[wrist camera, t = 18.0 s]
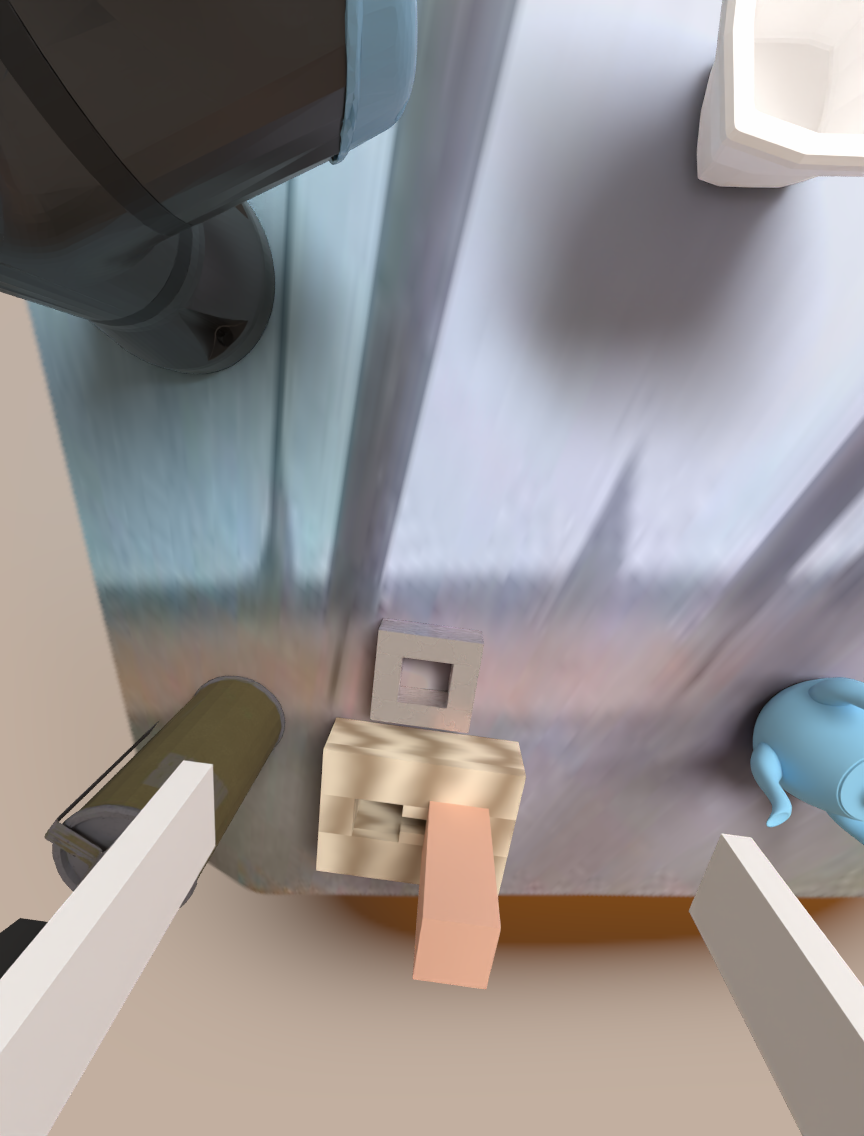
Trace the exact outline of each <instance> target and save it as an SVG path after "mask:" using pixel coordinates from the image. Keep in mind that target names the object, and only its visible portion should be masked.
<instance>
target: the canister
mask: <svg viewBox="0 0 864 1136" xmlns="http://www.w3.org/2000/svg"><path fill="white" fill-rule="evenodd" d="M158 722H159V721H158ZM158 722H157V723H158ZM157 723H156V724H157ZM156 724H155V725H156ZM155 725H154V726H153V727H152V728H151V729H149V730H148V731H147V732H146V733H145V734H144V735H143V736H142V737H141V738H140V739H139V740H138V741H137V742H136V743H135V744H134V745H133V746H132V747H131V748H130V749H129V750H128V751H127V752H126V753H125V754H123V755H122V756H121V757H120V758H119V759H118V760H117V761H116V762H115V763H114V764H113V765H112V766H111V767H110V768H109V769H108V770H107V771H106V772H105V773H104V774H103V775H102V776H100V777H99V779H97V781H95V782H94V783H93V784H92V785H91V786H90V787H89V788H88V789H87V790H86V791H85V792H84V793H83V794H82V795H81V796H80V797H79V798H78V799H76V800H75V801H74V802H73V803H72V804H71V805H70V806H69V807H68V808H67V809H66V810H65V811H64V812H63V813H62V814H61V815H60V816H59V817H58V818H57V819H56V821H55V822H54V823H53V825H52V826H51V827H50V829H49V830H48V831H47V833H46V834H45V839H47V840H48V841H50V842H52V843H53V845H52V854H53V859H54V862H55V865H56V868H57V870H58V873H59V875H60V876H61V878H62V880H63V881H64V882H65V883H66V885H67V886H68V887H69V888H70V889H71V890H72V891H73V892H74V891H75V889H76V888H77V887H78V886H79V885H80V883H81V882H82V881H83V880H84V879H85V877H86V876H87V875H88V874H89V873H90V871H91V870H92V869H93V868H94V867H95V865H96V864H97V863H98V862H99V861H100V859H101V858H102V857H103V856H104V855H105V853H106V852H107V851H108V850H109V849H110V847H111V846H112V845H113V844H114V843H115V842H116V840H117V839H118V838H119V837H120V836H121V834H122V833H123V832H124V831H125V830H126V828H127V827H128V826H129V825H130V824H131V822H132V821H133V820H134V819H135V818H136V816H137V815H138V814H139V813H140V812H141V810H142V809H143V808H144V807H145V806H146V804H147V803H148V802H149V801H150V800H151V798H152V797H153V796H154V795H155V794H156V793H157V791H158V790H159V789H160V788H161V787H162V785H163V784H164V783H165V782H166V781H167V779H168V778H169V777H170V776H171V775H172V773H173V772H174V771H175V770H176V769H177V767H178V766H179V765H180V764H181V763H182V761H183V760H184V761H192V762H199V763H206V764H213V785H214V817H215V847H214V849H213V851H212V853H211V854H210V856H209V858H208V859H207V861H206V863H205V865H204V866H203V868H202V870H201V871H200V873H199V875H198V877H197V878H196V880H195V882H194V883H193V885H192V887H191V889H190V890H189V892H188V894H187V895H186V897H185V899H184V901H183V902H182V904H181V906H180V908H181V907H182V906H183V905H184V904H185V903H186V902H187V900H188V899H189V898H190V897H191V895H192V894H193V891H194V889H195V887H196V885H197V880H198V878H199V876H200V874H201V873H202V871H203V869H204V867H205V866H206V864H207V862H208V860H209V859H210V857H211V855H212V854H213V852H214V850H215V848H216V847H217V845H218V843H219V841H220V840H221V838H222V836H223V834H224V833H225V831H226V829H227V828H228V826H229V824H230V822H231V821H232V819H233V817H234V815H235V814H236V812H237V810H238V808H239V807H240V805H241V803H242V802H243V800H244V798H245V796H246V795H247V793H248V791H249V789H250V788H251V786H252V784H253V782H254V781H255V779H256V777H257V776H258V774H259V772H260V770H261V769H262V767H263V765H264V763H265V762H266V760H267V758H268V756H269V755H270V753H271V751H272V750H273V748H274V747H275V746H276V745H277V744H278V743H279V741H280V740H281V738H282V736H283V732H284V726H285V718H284V713H283V710H282V708H281V705H280V703H279V702H278V700H277V699H276V697H275V696H274V695H273V694H272V693H271V692H270V691H269V690H267V689H266V688H265V687H264V686H262V685H261V684H259V683H257V682H255V681H253V680H251V679H247V678H243V677H239V676H223V677H217V678H215V679H212V680H210V681H208V682H207V683H205V684H204V685H203V686H201V687H200V688H199V689H198V691H197V692H196V694H195V696H194V697H193V698H192V699H191V700H190V701H189V702H188V703H187V704H186V705H185V706H184V707H183V708H182V709H181V710H180V711H179V712H178V713H177V714H176V715H175V716H174V717H173V718H172V719H171V720H170V721H169V722H168V723H167V724H166V725H165V726H164V727H163V728H162V729H161V730H160V731H159V732H158V733H157V734H156V735H155V736H154V737H153V738H152V739H151V740H150V741H149V742H148V743H147V744H146V745H145V746H144V747H143V748H142V749H141V750H140V751H139V752H138V753H137V754H136V755H135V756H134V757H133V758H132V759H131V760H130V761H129V762H128V763H127V764H126V765H125V766H124V767H123V768H122V769H121V770H120V771H119V772H118V773H117V774H116V775H115V776H114V777H113V778H112V779H111V780H110V781H109V782H108V783H107V784H106V785H105V786H104V787H103V788H102V789H101V790H100V791H99V792H98V793H97V794H96V795H95V796H94V797H93V798H92V799H91V800H90V801H89V802H88V803H87V804H85V806H84V807H82V808H81V809H80V810H79V811H78V812H76V813H75V814H73V815H72V816H71V817H69V818H68V819H67V820H65V821H64V823H63V824H61V823H59V821H60V820H61V819H62V818H63V817H64V816H65V815H66V814H67V813H68V812H69V811H70V810H71V809H72V808H73V807H74V806H75V805H76V804H77V803H78V802H79V801H80V800H82V799H83V797H85V796H86V795H87V794H88V793H89V792H90V791H91V790H92V789H93V788H94V787H95V786H96V785H97V784H98V783H99V782H100V781H101V780H102V779H103V778H104V777H105V776H106V775H107V774H108V773H109V772H110V771H111V770H112V769H113V768H114V767H115V766H116V765H118V763H120V762H121V761H122V760H123V759H124V757H126V756H127V755H128V754H129V753H130V752H131V751H132V750H133V749H134V748H135V747H136V746H137V745H138V744H139V743H140V742H141V741H142V740H143V739H144V738H145V737H146V736H147V735H148V734H149V733H150V732H151V731H152V729H153V728H154V727H155Z"/></svg>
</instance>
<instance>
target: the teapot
mask: <svg viewBox="0 0 864 1136" xmlns="http://www.w3.org/2000/svg"><path fill="white" fill-rule="evenodd" d="M753 750H754V751H753V752H752V756H751V760H750V764H751V771H752V774H753V776H754V778H755V780H756V782H757V784H758V785H759V786H760V788H761V789H762V790H763V792H764V793H765V794H766V796H767V797H768V799H769V800H770V802H771V805H772V813H771V815H770V817H769V818H768V820H767V823H766V825H767V826H768V827H774V826H777V825H779V824H781V823H783V822H785V821H786V820H787V819H788V818H789V817H790V815H791V811H792V806H791V803H790V800H789V799H788V797H787V795H786V793H785V792H784V790H785V791H787V792H788V793H790V794H791V795H793V796H795V797H796V798H798V799H800V800H802V801H804V802H806V803H808V804H810V805H812V806H814V807H817V808H819V809H822V810H824V811H826V812H827V813H828V815H829V816H830V817H831V818H832V819H833V820H834V821H835V822H836V823H837V824H838V825H839V826H840V827H841V828H843V829H844V830H845V831H846V832H848V833H849V834H850V835H851V836H853V837H854V838H855V839H857V840H858V841H859V842H860V843H862V844H863V845H864V683H863V682H860V681H857V680H854V679H849V678H843V677H839V678H822V679H815V680H809V681H805V682H802V683H798V684H795V685H793V686H790V687H788V688H786V689H784V690H782V691H781V692H779V693H778V694H776V695H775V696H774V697H773V698H771V699H770V700H769V701H768V702H767V704H766V705H765V706H764V707H763V709H762V710H761V712H760V713H759V716H758V718H757V721H756V724H755V727H754V733H753ZM782 788H783V789H784V790H783V789H782Z"/></svg>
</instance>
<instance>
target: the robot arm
mask: <svg viewBox="0 0 864 1136" xmlns="http://www.w3.org/2000/svg"><path fill="white" fill-rule="evenodd" d="M416 59H417V0H0V292H3V293H6V294H9V295H12V296H16V297H18V298H22V299H25V300H28V301H31V302H34V303H37V304H41V305H44V306H47V307H50V308H53V309H56V310H59V311H62V312H65V313H68V314H71V315H74V316H78V317H81V318H84V319H87V320H89V321H90V322H91V323H93V324H94V325H95V326H96V327H98V328H99V329H100V330H101V331H103V332H104V333H105V334H106V335H108V336H109V337H110V338H111V339H113V340H114V341H115V342H116V343H118V344H119V345H120V346H121V347H123V348H124V349H125V350H127V351H128V352H130V353H131V354H133V355H134V356H136V357H138V358H140V359H142V360H144V361H146V362H148V363H150V364H153V365H156V366H159V367H162V368H166V369H170V370H174V371H178V372H182V373H189V374H205V373H212V372H216V371H219V370H222V369H225V368H227V367H229V366H231V365H233V364H235V363H236V362H238V361H239V360H241V359H242V358H243V357H244V356H245V355H246V354H248V353H249V352H250V351H251V349H252V348H253V347H254V346H255V344H256V343H257V342H258V340H259V339H260V337H261V335H262V334H263V332H264V330H265V328H266V325H267V323H268V320H269V317H270V314H271V310H272V305H273V300H274V289H275V276H274V266H273V260H272V255H271V251H270V247H269V243H268V240H267V238H266V235H265V232H264V230H263V228H262V226H261V224H260V222H259V220H258V218H257V216H256V214H255V213H254V211H253V210H252V208H251V206H250V205H249V204H248V202H247V200H249V199H251V198H253V197H255V196H257V195H260V194H262V193H264V192H266V191H268V190H270V189H272V188H274V187H276V186H278V185H280V184H282V183H284V182H286V181H288V180H290V179H292V178H294V177H296V176H299V175H301V174H303V173H305V172H307V171H309V170H311V169H313V168H315V167H317V166H319V165H321V164H323V163H325V162H327V161H329V162H330V163H331V164H332V165H334V164H338V163H340V162H341V161H342V160H344V158H345V157H346V155H347V154H348V152H349V151H350V150H352V149H353V148H355V147H357V146H359V145H360V144H362V143H364V142H366V141H368V140H369V139H371V138H373V137H375V136H376V135H378V134H380V133H382V132H384V131H385V130H387V129H389V128H390V127H392V126H393V125H394V124H395V123H396V122H397V121H398V120H399V118H400V117H401V116H402V114H403V111H404V109H405V107H406V104H407V102H408V100H409V96H410V93H411V91H412V86H413V83H414V78H415V70H416ZM214 847H215V817H214V785H213V764H206V763H199V762H192V761H184V760H183V761H182V763H181V764H180V765H179V766H178V767H177V769H176V770H175V771H174V772H173V773H172V775H171V776H170V777H169V778H168V779H167V781H166V782H165V783H164V784H163V785H162V787H161V788H160V789H159V790H158V791H157V793H156V794H155V795H154V796H153V797H152V798H151V800H150V801H149V802H148V803H147V804H146V806H145V807H144V808H143V809H142V810H141V812H140V813H139V814H138V815H137V816H136V818H135V819H134V820H133V821H132V822H131V824H130V825H129V826H128V827H127V828H126V830H125V831H124V832H123V833H122V834H121V836H120V837H119V838H118V839H117V840H116V842H115V843H114V844H113V845H112V846H111V847H110V849H109V850H108V851H107V852H106V853H105V855H104V856H103V857H102V858H101V859H100V861H99V862H98V863H97V864H96V865H95V867H94V868H93V869H92V870H91V871H90V873H89V874H88V875H87V876H86V877H85V879H84V880H83V881H82V882H81V883H80V885H79V886H78V887H77V888H76V889H75V891H74V892H73V893H72V894H71V895H70V897H69V898H68V899H67V900H66V901H65V902H64V904H63V905H62V906H61V907H60V908H59V910H58V911H57V912H56V913H55V914H54V916H53V917H52V918H51V919H50V921H49V922H44V921H36V920H30V919H22V918H20V919H18V920H17V921H16V922H14V923H13V924H12V925H10V926H9V927H8V928H6V929H5V930H4V931H2V932H1V933H0V1136H47V1134H48V1133H49V1131H50V1129H51V1128H52V1126H53V1124H54V1122H55V1121H56V1119H57V1117H58V1115H59V1114H60V1112H61V1110H62V1109H63V1107H64V1105H65V1103H66V1102H67V1100H68V1098H69V1097H70V1094H71V1093H72V1091H73V1089H74V1088H75V1086H76V1084H77V1083H78V1081H79V1079H80V1078H81V1076H82V1074H83V1073H84V1071H85V1069H86V1067H87V1066H88V1064H89V1062H90V1060H91V1059H92V1057H93V1055H94V1054H95V1052H96V1050H97V1048H98V1047H99V1045H100V1043H101V1042H102V1040H103V1038H104V1036H105V1035H106V1033H107V1031H108V1030H109V1028H110V1026H111V1024H112V1023H113V1021H114V1019H115V1017H116V1016H117V1014H118V1012H119V1010H120V1009H121V1007H122V1005H123V1004H124V1002H125V1000H126V999H127V997H128V995H129V993H130V992H131V990H132V988H133V986H134V985H135V983H136V981H137V980H138V978H139V976H140V975H141V973H142V971H143V969H144V968H145V966H146V964H147V963H148V961H149V959H150V957H151V956H152V954H153V952H154V950H155V949H156V947H157V945H158V943H159V942H160V940H161V938H162V937H163V935H164V933H165V932H166V930H167V928H168V926H169V925H170V923H171V921H172V920H173V918H174V916H175V914H176V913H177V911H178V909H179V908H180V906H181V904H182V902H183V901H184V899H185V897H186V895H187V894H188V892H189V890H190V889H191V887H192V885H193V883H194V882H195V880H196V878H197V877H198V875H199V873H200V871H201V870H202V868H203V866H204V865H205V863H206V861H207V859H208V858H209V856H210V854H211V853H212V851H213V849H214ZM689 912H690V914H691V916H692V918H693V920H694V922H695V924H696V926H697V928H698V929H699V932H700V934H701V936H702V937H703V940H704V942H705V944H706V946H707V947H708V949H709V952H710V953H711V955H712V957H713V959H714V961H715V963H716V965H717V967H718V969H719V971H720V973H721V975H722V977H723V979H724V981H725V983H726V985H727V987H728V989H729V991H730V993H731V995H732V997H733V999H734V1001H735V1003H736V1005H737V1007H738V1009H739V1011H740V1013H741V1015H742V1017H743V1019H744V1021H745V1023H746V1025H747V1027H748V1029H749V1031H750V1033H751V1035H752V1037H753V1039H754V1041H755V1043H756V1045H757V1047H758V1049H759V1051H760V1053H761V1055H762V1057H763V1059H764V1061H765V1063H766V1064H767V1067H768V1068H769V1070H770V1073H771V1074H772V1076H773V1078H774V1080H775V1082H776V1084H777V1086H778V1088H779V1090H780V1092H781V1094H782V1096H783V1098H784V1100H785V1102H786V1104H787V1106H788V1108H789V1110H790V1112H791V1114H792V1116H793V1118H794V1120H795V1122H796V1124H797V1126H798V1128H799V1130H800V1132H801V1134H802V1136H864V987H863V985H862V984H861V983H860V982H859V980H858V979H857V977H856V976H855V975H854V973H853V972H852V971H851V969H850V968H849V967H848V965H847V964H846V963H845V961H844V960H843V959H842V957H841V956H840V955H839V954H838V952H837V951H836V950H835V948H834V947H833V945H832V944H831V943H830V942H829V940H828V939H827V937H826V936H825V935H824V933H823V932H822V931H821V930H820V928H819V927H818V926H817V924H816V923H815V922H814V920H813V919H812V918H811V916H810V915H809V914H808V912H807V911H806V910H805V908H804V907H803V906H802V904H801V903H800V902H799V900H798V899H797V898H796V896H795V895H794V894H793V892H792V891H791V890H790V888H789V887H788V886H787V884H786V883H785V882H784V880H783V879H782V878H781V876H780V875H779V874H778V872H777V871H776V870H775V868H774V867H773V866H772V864H771V863H770V862H769V860H768V859H767V858H766V856H765V855H764V854H763V853H762V851H761V850H760V849H759V847H758V846H757V845H756V843H755V842H754V841H753V839H752V838H750V837H743V836H735V835H728V834H721V836H720V838H719V841H718V843H717V845H716V848H715V850H714V852H713V855H712V857H711V860H710V862H709V864H708V867H707V869H706V871H705V874H704V876H703V879H702V881H701V883H700V886H699V888H698V891H697V893H696V895H695V898H694V900H693V902H692V905H691V907H690V910H689Z"/></svg>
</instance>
